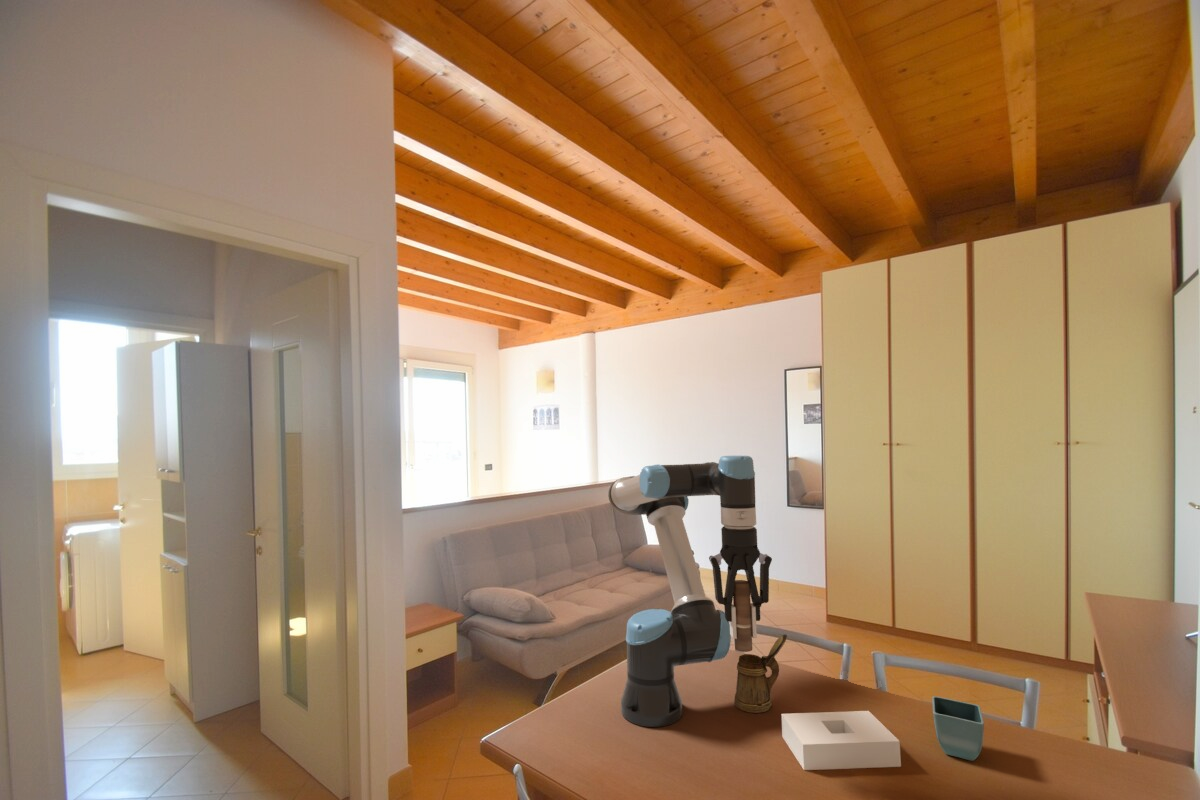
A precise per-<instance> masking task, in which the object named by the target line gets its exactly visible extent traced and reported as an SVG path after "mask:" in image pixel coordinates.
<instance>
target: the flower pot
mask: <svg viewBox="0 0 1200 800" xmlns="http://www.w3.org/2000/svg"><path fill="white" fill-rule="evenodd" d="M931 698H932V699H931V700H932V702H931V703H932V714H933V716H932V717H933V720H934V729H935V734H936V737H937V742H938V744H939V745H940V748H941V750H943V752H944V754H945V755H949V756H951V757H955V758H959V759H964V760H967V761H972V762H973V761H974V762H975V760H976V759H977V758H978V757H979V756H980V754H981V751H982V748H983V743H984V742H983V741H984V728H985V722H984V718H983V715H982V709H981V706H980V705H979V704H974V703H970V702H964V701H959V700H955V699H951V698H945V697H941V696H934V695H933V696H931Z"/></svg>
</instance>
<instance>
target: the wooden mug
mask: <svg viewBox="0 0 1200 800" xmlns="http://www.w3.org/2000/svg"><path fill="white" fill-rule="evenodd" d="M787 639H788V635H787V634H782V635H781V636H779V637H778V638H777V639H776V640H775V642H774V644H773V645H772V647H771V648H770V651H769V653H768V655H762V656H759V655H756V654H751V653H750V654H749V653H747V654H746V653H744V654H742V655H739V656H738V662H737V664H736V670H737V677H736V678H737V679H736V689H735V690H736V691H735V694H734V700H733V702H734V705H735V706H736V708H738V709H739V710H741V711H744V712H746V713H752V714H753V713H754V714H759V713H765V712H768V711H769V710H770V709H771V708H772V705H773V702H772V697H771V693H772V692H771V691H772V688H773V686H774V684H775V683H776V682H777V679H778V677H779V673H780V667H779V663H778V661H777V660H776V658H775V657H776V656H777V654H779V652H780V651H781V649H782V648H783V647H784V645H785V643H786V641H787ZM768 667H769V669H770V670H771V674H770V676H766V673H767V672H768Z"/></svg>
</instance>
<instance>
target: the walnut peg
mask: <svg viewBox="0 0 1200 800" xmlns="http://www.w3.org/2000/svg"><path fill="white" fill-rule="evenodd" d="M751 603H752V602H751V595H750V583H749V582H748V581H747V580H743V579H735V586H734V593H733V600H732V604H733V605H734V606H735V608H736V633H737V639H734V648H735V649H734V650H736V651H738V652H744V653H747V652H749V653H750V652H752V651H753V637H752V627H751V626H752V625H751Z"/></svg>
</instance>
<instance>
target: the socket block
mask: <svg viewBox="0 0 1200 800" xmlns="http://www.w3.org/2000/svg"><path fill="white" fill-rule="evenodd" d="M780 715H781V735H782V739H783V740H784V742H785V743H786V745H787V746H788V748H789V749H790V751H791V752H792V754H793V755H794V757H795V758H796V760H797V762H798V763H799V764H800V766H801V767H802V769H803V770H804V771H814V770H815V771H816V770H817V771H820V770H822V771H823V770H843V769H844V770H845V769H850V770H851V769H867V768H868V769H870V768H871V769H873V768H900V767H902V762H901V758H902V757H901V745H900V744H901V742H900V740H899V738H897V737H896V736H895V735H894V734H893V733H892V732H891V731H890V730H889V729H888V728H887V727H886V726H885V725H884V724H883V723H882V722H881V721H879V719H878V718H877V717H876V716H875V715H873V714H872V712H870V711H869V710H857V711H855V710H852V711H851V710H850V711H825V712H822V711H821V712H795V713H781V714H780Z"/></svg>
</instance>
